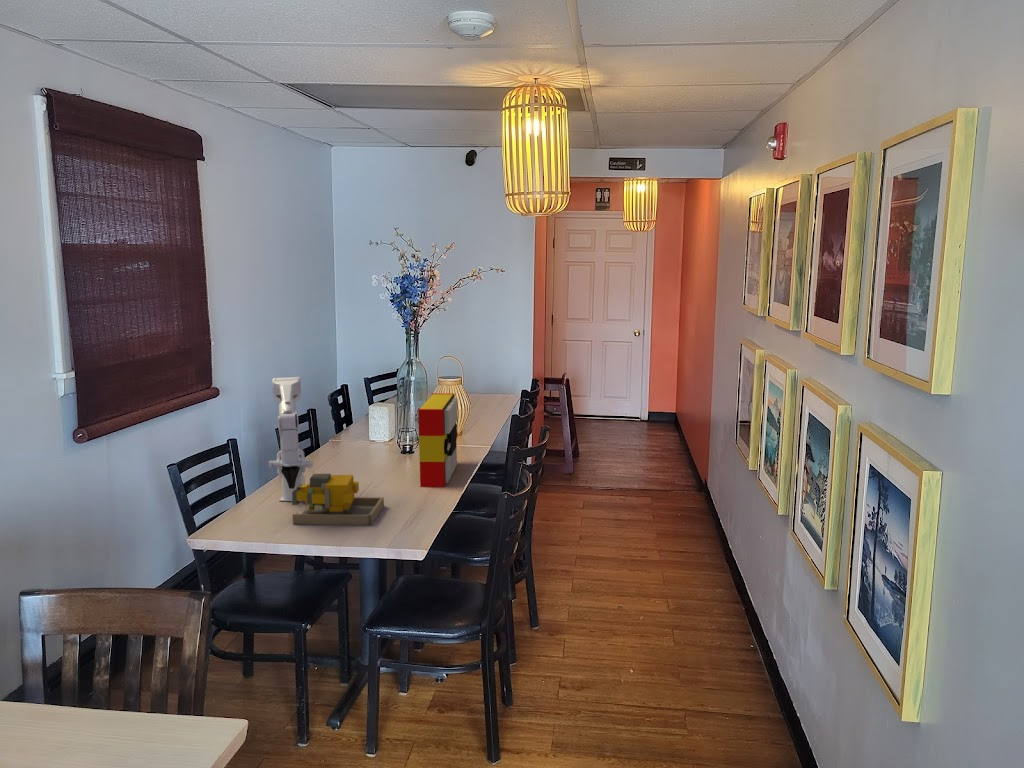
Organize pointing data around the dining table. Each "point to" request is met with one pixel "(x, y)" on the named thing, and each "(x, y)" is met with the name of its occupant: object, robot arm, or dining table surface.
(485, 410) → the dining table surface
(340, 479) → the toy
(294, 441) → the robot arm
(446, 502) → the dining table surface
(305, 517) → the tray
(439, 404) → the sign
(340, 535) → the dining table surface
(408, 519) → the dining table surface
